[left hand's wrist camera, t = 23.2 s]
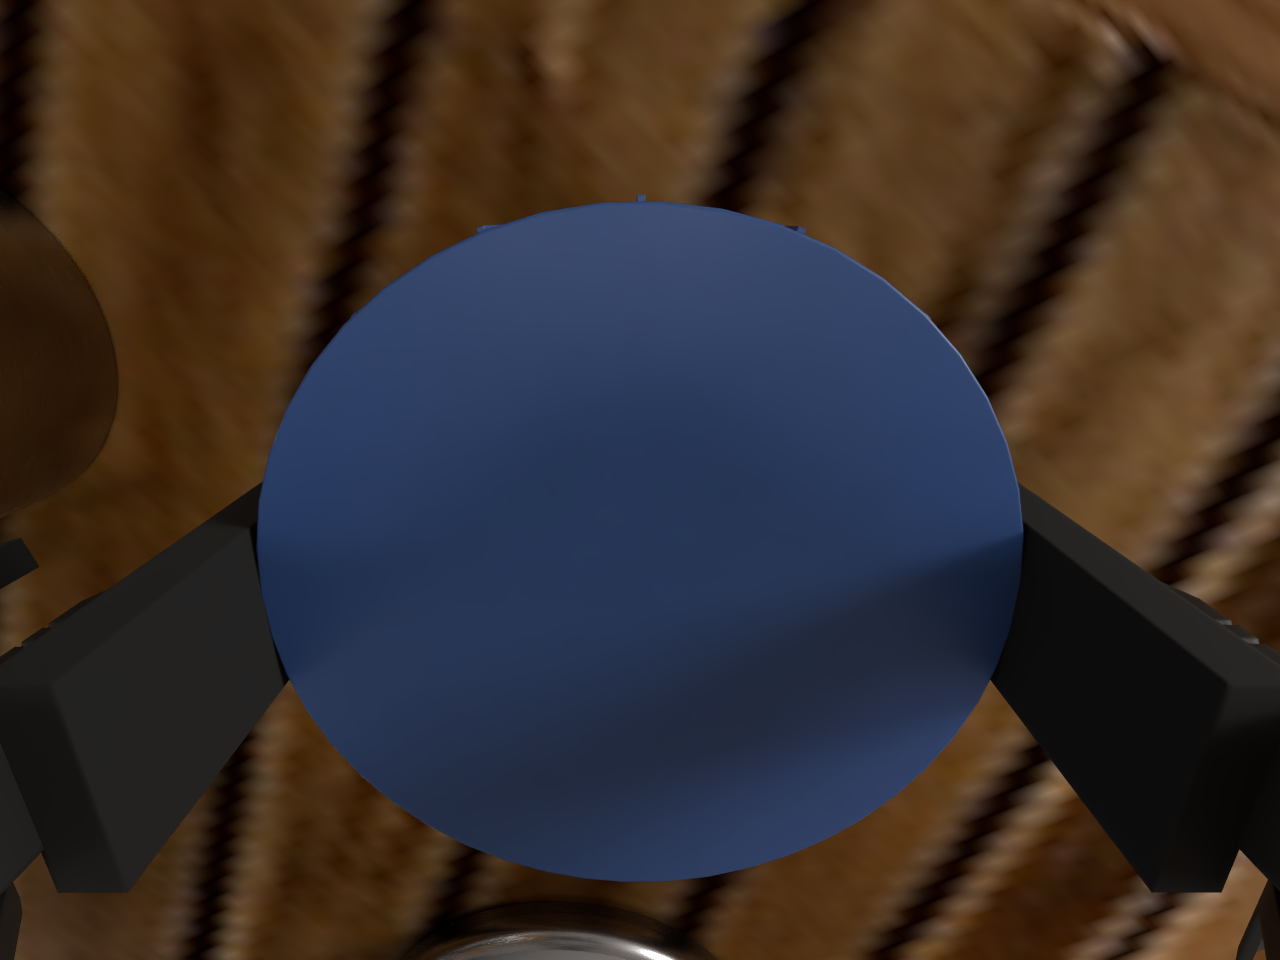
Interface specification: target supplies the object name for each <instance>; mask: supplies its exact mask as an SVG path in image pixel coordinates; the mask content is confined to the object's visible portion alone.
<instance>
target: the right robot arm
mask: <svg viewBox="0 0 1280 960" xmlns="http://www.w3.org/2000/svg"><path fill="white" fill-rule="evenodd" d="M38 567H39V566H38V564H37V563H36V561H35V560H34V558H33V556H32V555H31V553H30V552H29V550H28V549H27V547H26V545H25V544H24V542H23V541H22V539H21V538H19V539H15V540H11V541H7V542H4V543H0V589H1V588H3V587H5V586H7V585H8V584H10V583H12V582H13V581H15V580H17V579H19V578H20V577H22V576H24V575H26V574H27V573H29V572H31V571H33V570H34V569H36V568H38Z"/></svg>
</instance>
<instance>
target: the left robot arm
mask: <svg viewBox="0 0 1280 960" xmlns="http://www.w3.org/2000/svg"><path fill="white" fill-rule="evenodd" d="M1017 483H1018V482H1017ZM262 485H263V482H261V483H260V484H258V485H257V486H256V487H254V488H253V489H251V490H250V491H248V492H247V493H246V494H244V495H243V496H241V497H240V498H238V499H237V500H235V501H234V502H233V503H231V504H230V505H228V506H227V507H225V508H224V509H223V510H221V511H220V512H218V513H217V514H215V515H214V516H213V517H211V518H210V519H208V520H207V521H205V522H204V523H203V524H201V525H200V526H198V527H197V528H195V529H194V530H193V531H191V532H190V533H188V534H187V535H185V536H184V537H183V538H181V539H180V540H178V541H177V542H175V543H174V544H172V545H171V546H170V547H168V548H167V549H165V550H164V551H162V552H161V553H160V554H158V555H157V556H155V557H154V558H152V559H151V560H150V561H148V562H147V563H145V564H144V565H142V566H141V567H140V568H138V569H137V570H135V571H134V572H132V573H131V574H130V575H128V576H127V577H125V578H124V579H122V580H121V581H120V582H118V583H117V584H115V585H114V586H112V587H111V588H109V589H108V590H106V591H103V592H101V593H99V594H97V595H94V596H92V597H90V598H88V599H86V600H83V601H81V602H80V603H78V604H77V605H75V606H74V607H72V608H71V609H69V610H68V611H66V612H65V613H64V614H62V615H61V616H59V617H58V618H56V619H55V620H53V621H52V622H50V623H49V627H48V628H42V629H40V630H39V631H37V632H36V633H34V634H33V635H31V636H30V637H29V638H27V639H26V640H24V641H23V642H22V646H21V647H14V648H13V649H11V650H10V651H8V652H7V653H5V654H4V655H2V656H1V657H0V960H14V956H15V951H16V945H17V940H18V934H19V929H20V923H21V918H22V907H21V901H20V897H19V895H18V892H17V890H16V888H15V886H14V883H13V881H14V880H15V879H16V878H17V877H18V876H19V875H20V874H21V873H22V872H23V871H24V870H25V869H26V868H27V867H28V865H29V864H30V863H31V862H32V861H33V860H34V859H35V858H36V857H37V856H38V855H39V854H40V853H42V855H43V858H44V860H45V862H46V865H47V867H48V870H49V872H50V874H51V877H52V879H53V882H54V884H55V887H56V889H57V891H58V893H128V891H129V890H130V889H131V887H132V886H133V885H134V883H135V882H136V881H137V880H138V878H139V877H140V876H141V874H142V873H143V872H144V870H145V869H146V868H147V866H148V865H149V864H150V862H151V861H152V860H153V858H154V857H155V856H156V854H157V853H158V852H159V851H160V849H161V848H162V847H163V845H164V844H165V843H166V841H167V840H168V839H169V837H170V836H171V835H172V833H173V832H174V831H175V829H176V828H177V827H178V826H179V824H180V823H181V822H182V820H183V819H184V818H185V816H186V815H187V814H188V812H189V811H190V810H191V808H192V807H193V806H194V804H195V803H196V802H197V800H198V799H199V798H200V797H201V795H202V794H203V793H204V791H205V790H206V789H207V787H208V786H209V785H210V783H211V782H212V781H213V779H214V778H215V777H216V775H217V774H218V773H219V772H220V770H221V769H222V768H223V766H224V765H225V764H226V762H227V761H228V760H229V758H230V757H231V756H232V754H233V753H234V752H235V750H236V749H237V748H238V746H239V745H240V744H241V743H242V741H243V740H244V739H245V737H246V736H247V735H248V733H249V732H250V731H251V729H252V728H253V727H254V725H255V724H256V723H257V721H258V720H259V719H260V718H261V716H262V715H263V714H264V712H265V711H266V710H267V708H268V707H269V706H270V704H271V703H272V702H273V700H274V699H275V698H276V696H277V695H278V694H279V692H280V691H281V690H282V689H283V687H284V686H285V685H286V683H287V682H288V681H289V678H288V676H287V675H286V672H285V670H284V667H283V665H282V662H281V659H280V657H279V654H278V652H277V649H276V647H275V644H274V642H273V639H272V636H271V632H270V628H269V624H268V619H267V615H266V610H265V606H264V602H263V597H262V593H261V588H260V582H259V573H258V562H257V551H256V542H257V525H258V508H259V499H260V494H261V489H262ZM1018 487H1019V494H1020V504H1021V514H1022V524H1023V535H1024V537H1023V556H1022V574H1021V580H1020V585H1019V589H1018V594H1017V598H1016V603H1015V608H1014V612H1013V617H1012V621H1011V626H1010V630H1009V634H1008V637H1007V640H1006V643H1005V646H1004V649H1003V651H1002V654H1001V657H1000V660H999V663H998V665H997V667H996V669H995V671H994V673H993V675H992V677H991V679H990V680H991V681H992V683H993V684H994V685H995V687H996V688H997V689H998V690H999V692H1000V693H1001V694H1002V696H1003V697H1004V698H1005V700H1006V701H1007V702H1008V704H1009V705H1010V706H1011V708H1012V709H1013V710H1014V712H1015V713H1016V714H1017V715H1018V717H1019V718H1020V719H1021V721H1022V722H1023V723H1024V725H1025V726H1026V727H1027V729H1028V730H1029V731H1030V733H1031V734H1032V735H1033V737H1034V738H1035V739H1036V741H1037V742H1038V743H1039V744H1040V746H1041V747H1042V748H1043V750H1044V751H1045V752H1046V754H1047V755H1048V756H1049V758H1050V759H1051V760H1052V762H1053V763H1054V764H1055V766H1056V767H1057V768H1058V769H1059V771H1060V772H1061V773H1062V775H1063V776H1064V777H1065V779H1066V780H1067V781H1068V783H1069V784H1070V785H1071V787H1072V788H1073V789H1074V791H1075V792H1076V793H1077V795H1078V796H1079V797H1080V798H1081V800H1082V801H1083V802H1084V804H1085V805H1086V806H1087V808H1088V809H1089V810H1090V812H1091V813H1092V814H1093V816H1094V817H1095V818H1096V820H1097V821H1098V822H1099V824H1100V825H1101V826H1102V827H1103V829H1104V830H1105V831H1106V833H1107V834H1108V835H1109V837H1110V838H1111V839H1112V841H1113V842H1114V843H1115V845H1116V846H1117V847H1118V849H1119V850H1120V851H1121V852H1122V854H1123V855H1124V856H1125V858H1126V859H1127V860H1128V862H1129V863H1130V864H1131V866H1132V867H1133V868H1134V870H1135V871H1136V872H1137V874H1138V875H1139V876H1140V878H1141V879H1142V880H1143V881H1144V883H1145V884H1146V885H1147V887H1148V888H1149V889H1150V891H1151V892H1222V890H1223V887H1224V885H1225V883H1226V880H1227V878H1228V875H1229V873H1230V870H1231V868H1232V866H1233V863H1234V861H1235V858H1236V856H1237V854H1238V851H1239V849H1240V850H1241V851H1242V852H1243V853H1244V854H1245V855H1246V857H1247V858H1248V859H1249V860H1250V861H1251V862H1252V863H1253V864H1254V865H1255V866H1256V867H1257V868H1258V869H1259V870H1260V871H1261V872H1262V873H1263V874H1264V875H1265V877H1266V878H1267V879H1268V881H1267V883H1266V886H1265V888H1264V890H1263V892H1262V895H1261V897H1260V899H1259V901H1258V904H1257V906H1256V908H1255V910H1254V913H1253V915H1252V917H1251V919H1250V922H1249V924H1248V926H1247V928H1246V931H1245V933H1244V935H1243V937H1242V940H1241V942H1240V944H1239V947H1238V951H1237V957H1236V960H1253V958H1254V956H1255V953H1256V952H1258V951H1260V950H1263V949H1265V954H1266V959H1267V960H1280V653H1278V652H1277V651H1275V650H1274V649H1272V648H1271V647H1269V646H1268V645H1266V644H1259V642H1258V640H1259V639H1258V638H1256V637H1255V636H1253V635H1252V634H1250V633H1249V632H1247V631H1246V630H1244V629H1243V628H1241V627H1240V626H1238V625H1232V623H1231V620H1230V619H1228V618H1227V617H1225V616H1224V615H1222V614H1221V613H1219V612H1218V611H1216V610H1215V609H1213V608H1212V607H1211V606H1209V605H1208V604H1206V603H1205V602H1203V601H1202V600H1200V599H1199V598H1196V597H1194V596H1192V595H1190V594H1187V593H1185V592H1183V591H1181V590H1178V589H1176V588H1174V587H1172V586H1169V585H1167V584H1165V583H1163V582H1160V581H1159V580H1157V579H1156V578H1154V577H1153V576H1151V575H1150V574H1149V573H1147V572H1146V571H1144V570H1143V569H1141V568H1140V567H1139V566H1137V565H1136V564H1134V563H1133V562H1131V561H1130V560H1128V559H1127V558H1126V557H1124V556H1123V555H1121V554H1120V553H1118V552H1117V551H1116V550H1114V549H1113V548H1111V547H1110V546H1108V545H1107V544H1106V543H1104V542H1103V541H1101V540H1100V539H1098V538H1097V537H1096V536H1094V535H1093V534H1091V533H1090V532H1088V531H1087V530H1086V529H1084V528H1083V527H1081V526H1080V525H1078V524H1077V523H1076V522H1074V521H1073V520H1071V519H1070V518H1068V517H1067V516H1065V515H1064V514H1063V513H1061V512H1060V511H1058V510H1057V509H1055V508H1054V507H1053V506H1051V505H1050V504H1048V503H1047V502H1045V501H1044V500H1043V499H1041V498H1040V497H1038V496H1037V495H1035V494H1034V493H1033V492H1031V491H1030V490H1028V489H1027V488H1025V487H1024V486H1023V485H1021V484H1020V483H1018ZM402 960H716V959H715V958H714V957H713V956H712V955H711V954H710V953H709V952H708V951H707V950H706V949H704V948H703V947H702V946H701V945H700V944H698V943H697V942H695V941H694V940H692V939H691V938H689V937H688V936H686V935H685V934H683V933H681V932H679V931H678V930H676V929H674V928H672V927H670V926H668V925H666V924H664V923H661V922H659V921H657V920H654V919H652V918H649V917H646V916H643V915H640V914H638V913H634V912H631V911H627V910H623V909H619V908H615V907H610V906H604V905H599V904H591V903H582V902H563V901H552V902H533V903H523V904H516V905H510V906H504V907H499V908H495V909H491V910H487V911H484V912H480V913H477V914H474V915H471V916H469V917H466V918H463V919H461V920H459V921H456V922H454V923H452V924H450V925H447V926H446V927H444V928H442V929H440V930H438V931H437V932H435V933H433V934H432V935H430V936H429V937H427V938H426V939H424V940H423V941H421V942H420V943H419V944H418V945H416V946H415V947H414V948H413V949H412V950H411V951H409V952H408V953H407V954H406V956H405V957H404V958H403V959H402Z"/></svg>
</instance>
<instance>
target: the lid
mask: <svg viewBox="0 0 1280 960" xmlns="http://www.w3.org/2000/svg"><path fill="white" fill-rule="evenodd" d="M476 230H477V232H478V233H477V234H475V235H473V236H471V237H469V238H467V239H465V240H463V241H461V242H459V243H456V244H454V245H452V246H450V247H448V248H446V249H444V250H442V251H440V252H438V253H436V254H433V255H432V256H430V257H429V258H427V259H426V260H424V261H423V262H421V263H420V264H418V265H417V266H415V267H414V268H412V269H411V270H409V271H408V272H406V273H405V274H403V275H402V276H400V277H399V278H397V279H396V280H394V281H393V282H392V283H390V284H389V285H387V286H386V287H384V288H383V289H382V290H381V291H380V292H379V293H378V294H377V295H376V296H375V297H373V298H372V299H371V300H370V301H369V302H368V303H367V304H366V305H365V306H364V307H363V308H361V309H360V310H359V311H358V312H355V313H354V314H353V315H352V316H351V319H349V320H348V321H347V322H346V323H345V324H344V325H343V327H342V328H341V329H340V330H339V332H338V333H337V334H336V335H335V337H334V338H333V339H332V340H331V342H330V343H329V344H328V345H327V347H326V348H325V349H324V350H323V352H322V353H321V354H320V355H319V357H318V358H317V359H316V360H315V362H314V363H313V364H312V365H311V367H310V369H309V371H308V372H307V374H306V376H305V378H304V379H303V381H302V383H301V385H300V386H299V388H298V390H297V391H296V393H295V395H294V397H293V398H292V400H291V402H290V404H289V405H288V407H287V409H286V411H285V414H284V417H283V419H282V422H281V424H280V427H279V430H278V432H277V435H276V437H275V440H274V443H273V445H272V448H271V450H270V453H269V457H268V461H267V466H266V471H265V475H264V480H263V485H262V489H261V494H260V499H259V508H258V525H257V542H256V551H257V562H258V573H259V582H260V588H261V593H262V597H263V602H264V606H265V610H266V615H267V619H268V624H269V628H270V632H271V636H272V639H273V642H274V644H275V647H276V649H277V652H278V654H279V657H280V659H281V662H282V665H283V667H284V670H285V672H286V675H287V676H288V678H289V680H290V682H291V683H292V685H293V687H294V689H295V691H296V692H297V694H298V696H299V698H300V700H301V701H302V703H303V705H304V707H305V708H306V710H307V712H308V713H309V715H310V716H311V717H312V719H313V720H314V721H315V723H316V724H317V725H318V727H319V728H320V729H321V731H322V732H323V733H324V735H325V736H326V737H327V739H328V740H329V742H330V743H331V744H332V746H333V747H334V748H335V749H336V750H337V751H338V752H339V753H340V754H341V755H342V756H343V757H344V758H345V759H346V760H347V761H348V762H349V763H350V764H351V766H352V767H353V768H354V769H355V770H356V771H357V772H358V773H359V774H360V775H361V776H362V777H363V778H365V779H366V780H367V781H368V782H369V783H371V784H372V785H373V786H374V787H375V788H377V789H378V790H379V791H380V792H381V793H383V794H384V795H385V796H386V797H387V798H388V799H390V800H391V801H392V802H393V803H395V804H396V805H398V806H399V807H401V808H402V809H404V810H405V811H407V812H408V813H410V814H411V815H413V816H414V817H416V818H417V819H419V820H421V821H422V822H424V823H425V824H427V825H428V826H430V827H432V828H434V829H436V830H438V831H440V832H442V833H444V834H445V835H447V836H449V837H451V838H453V839H455V840H457V841H459V842H461V843H463V844H465V845H467V846H470V847H472V848H475V849H477V850H480V851H483V852H485V853H488V854H490V855H493V856H495V857H498V858H500V859H503V860H506V861H510V862H513V863H517V864H520V865H524V866H527V867H531V868H534V869H538V870H541V871H546V872H552V873H557V874H563V875H568V876H574V877H579V878H587V879H599V880H611V881H623V882H636V881H672V880H681V879H690V878H699V877H708V876H713V875H717V874H722V873H727V872H732V871H737V870H742V869H746V868H750V867H753V866H756V865H759V864H763V863H766V862H769V861H772V860H776V859H779V858H782V857H785V856H788V855H790V854H793V853H795V852H797V851H800V850H802V849H804V848H807V847H809V846H811V845H814V844H816V843H818V842H821V841H823V840H825V839H827V838H829V837H831V836H833V835H834V834H836V833H838V832H840V831H842V830H843V829H845V828H847V827H849V826H851V825H852V824H854V823H856V822H858V821H860V820H861V819H863V818H864V817H866V816H867V815H868V814H870V813H871V812H873V811H874V810H876V809H877V808H878V807H880V806H881V805H883V804H884V803H886V802H887V801H888V800H890V799H891V798H893V797H894V796H895V795H897V794H898V793H899V792H900V791H901V790H902V789H903V788H904V787H906V786H907V785H908V784H909V783H910V782H911V781H912V780H913V779H915V778H916V777H917V776H918V775H919V774H920V773H921V772H923V771H924V770H925V769H926V768H927V767H928V766H929V765H930V763H931V762H932V761H933V760H934V759H935V758H936V757H937V756H938V755H939V753H940V752H941V751H942V750H943V749H944V748H945V747H946V746H947V744H948V743H949V742H950V741H951V740H952V739H953V738H954V737H955V735H956V734H957V732H958V731H959V729H960V728H961V726H962V725H963V724H964V722H965V721H966V719H967V718H968V716H969V715H970V713H971V712H972V711H973V709H974V708H975V706H976V705H977V703H978V702H979V700H980V698H981V696H982V694H983V692H984V690H985V688H986V686H987V684H988V682H989V681H990V679H991V677H992V675H993V673H994V671H995V669H996V667H997V665H998V663H999V660H1000V657H1001V654H1002V651H1003V649H1004V646H1005V643H1006V640H1007V637H1008V634H1009V630H1010V626H1011V621H1012V617H1013V612H1014V608H1015V603H1016V598H1017V594H1018V589H1019V585H1020V580H1021V574H1022V556H1023V537H1024V535H1023V524H1022V514H1021V504H1020V494H1019V487H1018V483H1017V479H1016V475H1015V471H1014V468H1013V464H1012V460H1011V456H1010V452H1009V448H1008V444H1007V441H1006V439H1005V437H1004V434H1003V432H1002V430H1001V427H1000V425H999V423H998V420H997V418H996V416H995V413H994V411H993V409H992V406H991V404H990V402H989V399H988V397H987V396H986V394H985V392H984V391H983V389H982V388H981V386H980V384H979V383H978V381H977V380H976V378H975V376H974V375H973V373H972V372H971V370H970V369H969V367H968V365H967V364H966V362H965V361H964V359H963V357H962V356H961V354H960V353H959V352H958V351H957V350H956V348H955V347H954V346H953V345H952V344H951V343H950V341H949V340H948V339H947V338H946V337H945V336H944V335H943V333H942V332H941V331H940V330H939V329H938V328H937V327H936V325H935V324H934V323H933V322H932V321H931V320H930V317H929V316H928V315H927V314H925V313H924V312H923V311H922V310H920V309H919V308H918V307H917V306H916V305H914V304H913V303H912V302H911V301H910V300H909V299H907V298H906V297H905V296H904V295H903V294H901V293H900V292H899V291H898V290H897V289H896V288H894V287H893V286H892V285H891V284H890V283H889V282H887V281H886V280H885V279H884V278H882V277H881V276H879V275H878V274H876V273H874V272H873V271H871V270H869V269H868V268H866V267H865V266H863V265H861V264H860V263H858V262H857V261H855V260H853V259H852V258H850V257H849V256H847V255H845V254H844V253H842V252H840V251H839V250H837V249H836V248H834V247H831V246H829V245H827V244H824V243H822V242H820V241H817V240H815V239H813V238H811V237H808V236H806V235H804V233H805V231H806V229H804V228H801V227H799V226H783V225H780V224H777V223H773V222H769V221H766V220H762V219H758V218H754V217H751V216H747V215H743V214H740V213H736V212H732V211H729V210H725V209H719V208H711V207H703V206H695V205H687V204H679V203H671V202H663V201H662V202H645V195H637V202H607V203H596V204H590V205H584V206H577V207H571V208H565V209H559V210H553V211H546V212H541V213H538V214H534V215H531V216H528V217H525V218H522V219H518V220H515V221H512V222H509V223H506V224H502V225H486V226H481V227H479V228H477V229H476Z"/></svg>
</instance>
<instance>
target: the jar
mask: <svg viewBox="0 0 1280 960" xmlns="http://www.w3.org/2000/svg"><path fill="white" fill-rule="evenodd" d="M116 397H117V373H116V365H115V358H114V351H113V347H112V343H111V340H110V336H109V332H108V328H107V326H106V323H105V320H104V318H103V315H102V313H101V310H100V308H99V305H98V303H97V301H96V299H95V297H94V295H93V294H92V292H91V290H90V288H89V286H88V284H87V282H86V280H85V279H84V277H83V276H82V274H81V273H80V271H79V270H78V268H77V267H76V265H75V264H74V262H73V261H72V259H71V258H70V256H69V255H68V254H67V253H66V251H65V250H64V249H63V248H62V247H61V245H60V244H59V243H58V242H57V241H56V239H55V238H54V237H53V236H52V235H51V233H50V232H49V231H48V230H47V229H46V228H45V227H44V226H43V225H42V224H41V223H40V222H39V221H38V220H37V219H36V218H35V217H34V216H33V215H31V214H30V213H29V212H28V211H27V210H26V209H25V208H23V207H22V206H21V205H20V204H19V203H17V202H16V201H15V200H14V199H12V198H11V197H10V196H9V195H7V194H6V193H5V192H3V191H2V190H0V518H1V517H3V516H6V515H8V514H10V513H12V512H14V511H16V510H19V509H21V508H23V507H25V506H27V505H30V504H32V503H34V502H36V501H38V500H40V499H43V498H45V497H47V496H49V495H51V494H53V493H56V492H58V491H59V490H61V489H62V488H64V487H65V486H67V485H68V484H70V483H71V482H73V481H74V480H75V479H76V478H77V477H78V476H79V475H80V474H81V473H83V472H84V471H85V470H86V469H87V468H88V466H89V465H90V464H91V462H92V461H93V460H94V458H95V457H96V456H97V454H98V453H99V451H100V449H101V447H102V445H103V443H104V441H105V439H106V437H107V436H108V432H109V429H110V426H111V423H112V420H113V417H114V410H115V404H116Z"/></svg>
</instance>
